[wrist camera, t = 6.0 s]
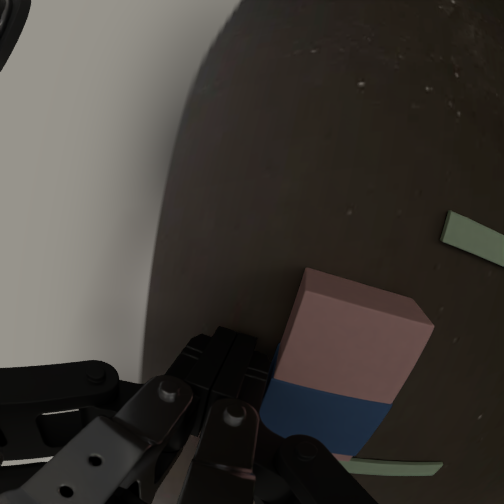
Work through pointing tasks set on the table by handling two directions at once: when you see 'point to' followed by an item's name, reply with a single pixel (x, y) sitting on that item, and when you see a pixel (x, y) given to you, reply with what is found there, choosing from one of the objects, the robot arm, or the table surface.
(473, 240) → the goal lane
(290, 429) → the eraser
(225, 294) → the table surface
